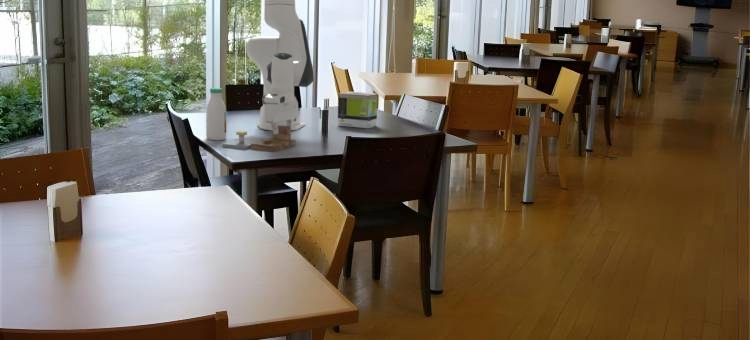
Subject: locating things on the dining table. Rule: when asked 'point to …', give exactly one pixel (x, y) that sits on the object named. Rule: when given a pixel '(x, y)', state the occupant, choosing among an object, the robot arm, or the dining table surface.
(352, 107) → the tea box
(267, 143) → the wooden stepped block
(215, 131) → the milk bottle
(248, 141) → the boss board
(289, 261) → the dining table surface
